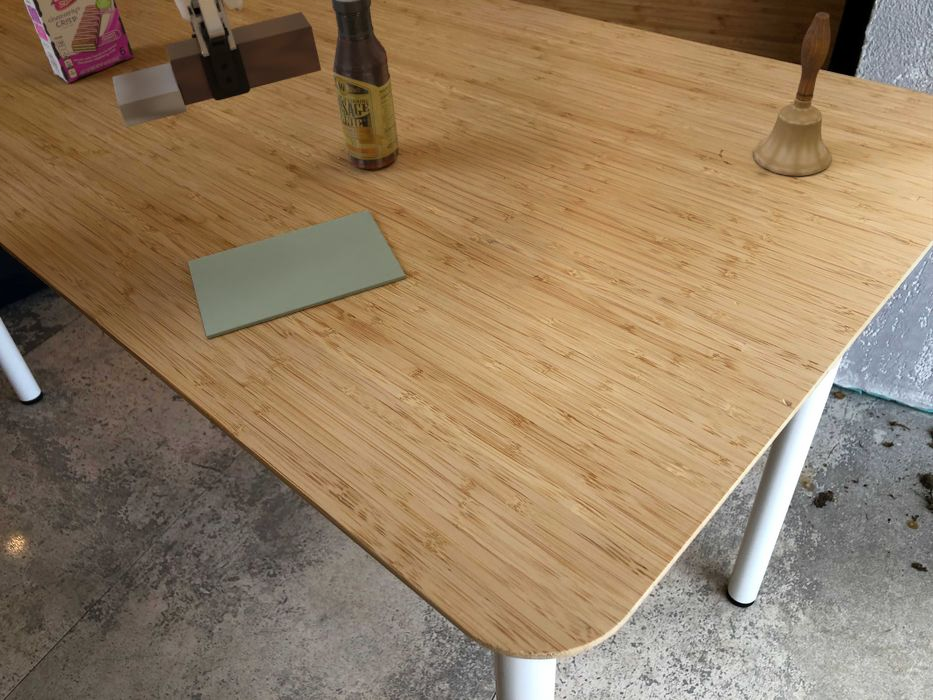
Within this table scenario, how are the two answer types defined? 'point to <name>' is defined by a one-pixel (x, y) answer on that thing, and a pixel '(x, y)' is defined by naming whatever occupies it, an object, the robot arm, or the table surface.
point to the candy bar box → (80, 35)
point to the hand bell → (800, 115)
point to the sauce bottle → (363, 88)
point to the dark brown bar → (184, 80)
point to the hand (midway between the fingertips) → (227, 83)
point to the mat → (292, 272)
